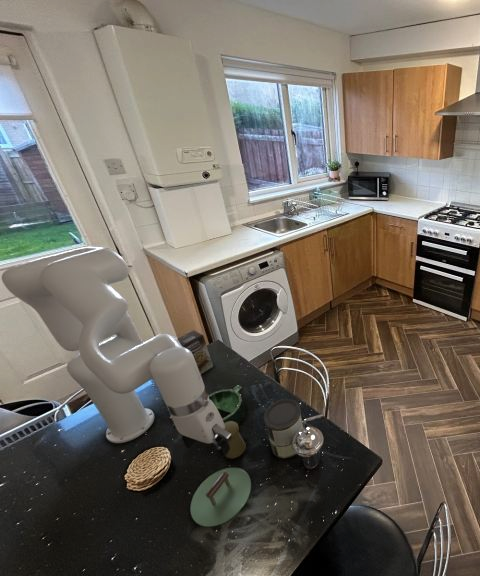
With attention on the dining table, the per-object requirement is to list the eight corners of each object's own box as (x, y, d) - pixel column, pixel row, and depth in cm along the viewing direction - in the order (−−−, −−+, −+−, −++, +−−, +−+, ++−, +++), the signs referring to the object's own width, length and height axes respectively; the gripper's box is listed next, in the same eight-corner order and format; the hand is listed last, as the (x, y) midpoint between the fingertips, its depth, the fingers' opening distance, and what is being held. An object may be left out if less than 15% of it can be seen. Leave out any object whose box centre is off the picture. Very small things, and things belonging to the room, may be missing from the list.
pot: (183, 436, 98) (177, 423, 95) (227, 392, 114) (223, 379, 111) (218, 449, 95) (213, 435, 92) (258, 402, 110) (255, 389, 107)
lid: (177, 516, 79) (169, 502, 76) (221, 463, 91) (215, 449, 88) (224, 537, 75) (218, 524, 72) (263, 479, 87) (258, 465, 84)
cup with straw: (305, 445, 96) (297, 400, 86) (332, 453, 94) (327, 408, 84) (291, 472, 89) (281, 426, 79) (319, 481, 87) (313, 435, 77)
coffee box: (192, 380, 119) (179, 347, 111) (182, 374, 122) (169, 341, 114) (214, 366, 126) (203, 334, 118) (204, 360, 129) (193, 329, 121)
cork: (238, 461, 91) (230, 437, 86) (220, 457, 92) (211, 433, 87) (250, 443, 97) (243, 419, 91) (233, 439, 98) (225, 415, 92)
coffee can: (264, 453, 94) (255, 422, 87) (284, 425, 102) (278, 395, 96) (293, 464, 91) (286, 433, 84) (311, 434, 99) (307, 404, 93)
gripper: (232, 396, 69) (248, 445, 77) (172, 378, 73) (193, 426, 81) (205, 424, 62) (226, 474, 70) (141, 402, 67) (167, 452, 75)
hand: (208, 448), depth 76 cm, fingers open, 9 cm apart
